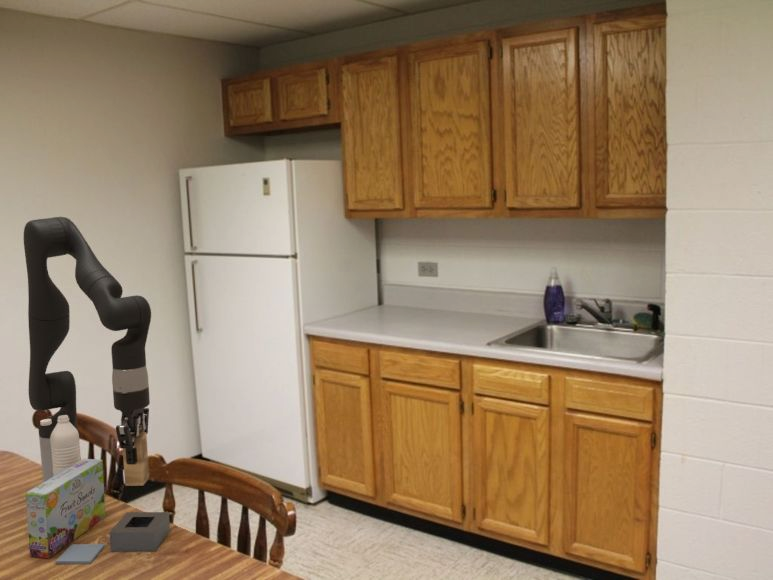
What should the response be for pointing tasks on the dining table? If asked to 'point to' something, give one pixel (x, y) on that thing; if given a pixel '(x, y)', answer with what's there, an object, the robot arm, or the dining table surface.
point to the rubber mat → (80, 554)
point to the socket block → (139, 531)
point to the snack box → (65, 507)
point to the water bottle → (63, 444)
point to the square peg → (140, 470)
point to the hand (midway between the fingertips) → (135, 459)
